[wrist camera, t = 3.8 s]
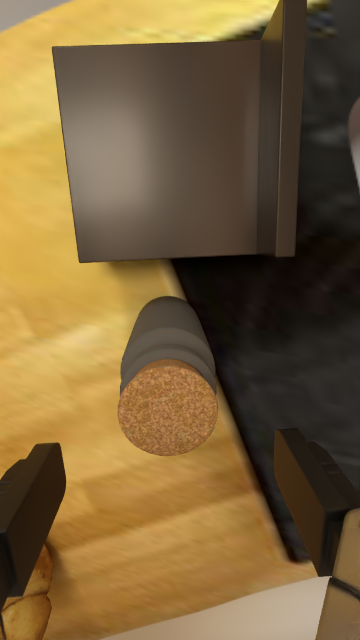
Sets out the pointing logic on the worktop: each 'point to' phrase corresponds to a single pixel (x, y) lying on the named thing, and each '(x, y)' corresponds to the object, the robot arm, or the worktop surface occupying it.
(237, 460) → the worktop surface
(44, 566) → the bread roll
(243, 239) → the dark brown legged piece
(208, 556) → the worktop surface
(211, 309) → the worktop surface
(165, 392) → the bottle
